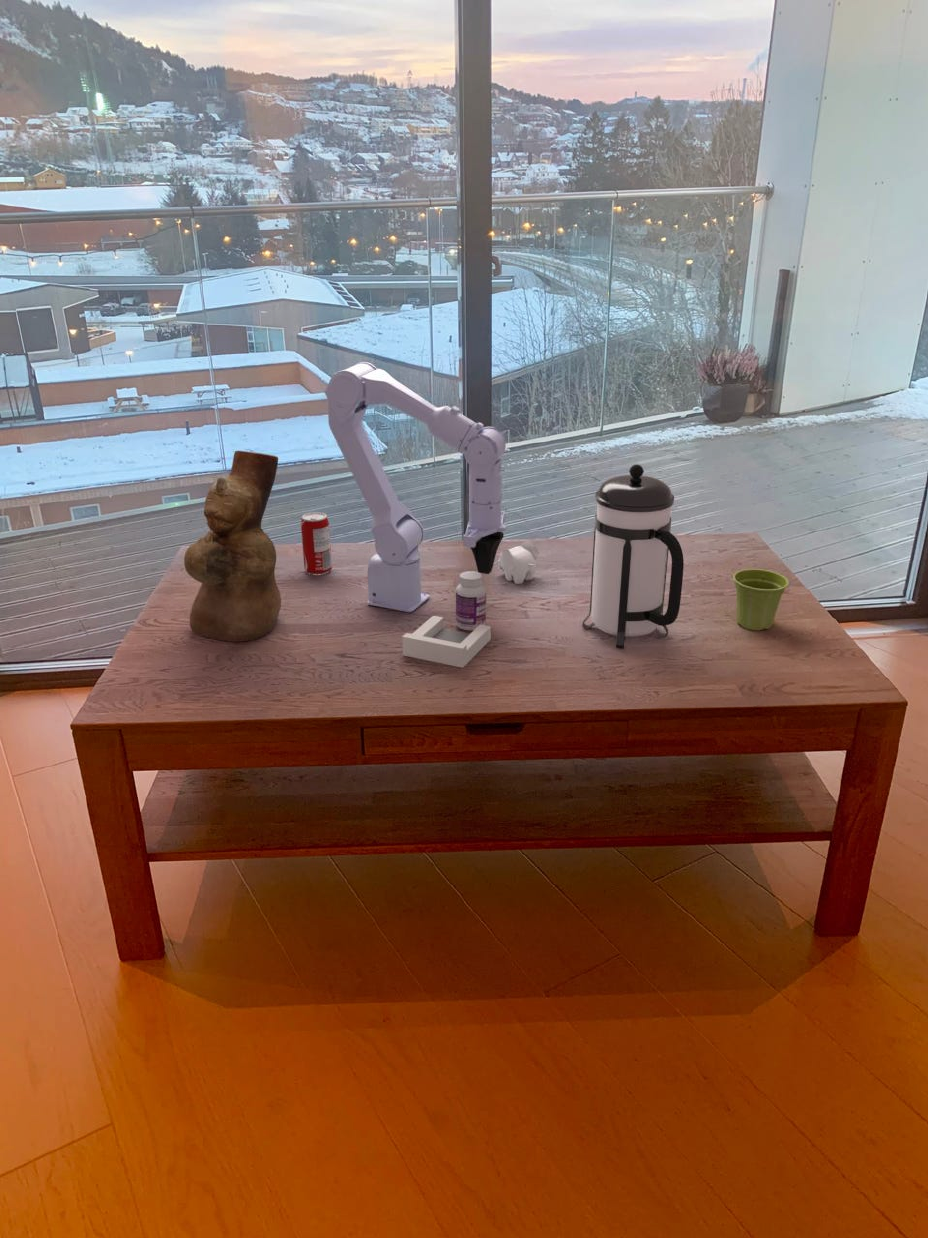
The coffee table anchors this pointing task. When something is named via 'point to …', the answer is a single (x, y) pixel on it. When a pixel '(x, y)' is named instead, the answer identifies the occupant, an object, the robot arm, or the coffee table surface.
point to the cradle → (445, 643)
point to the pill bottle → (470, 601)
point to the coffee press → (634, 557)
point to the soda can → (316, 543)
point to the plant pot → (758, 597)
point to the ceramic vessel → (236, 555)
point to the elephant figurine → (518, 562)
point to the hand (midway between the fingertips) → (484, 572)
